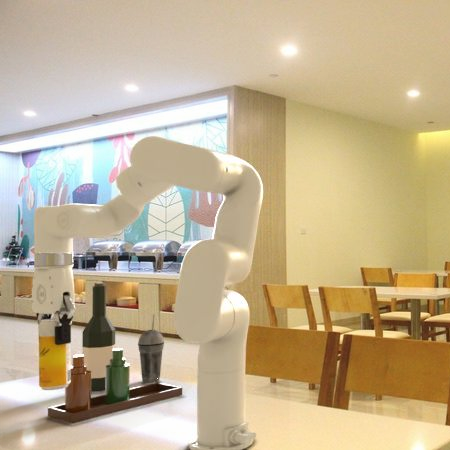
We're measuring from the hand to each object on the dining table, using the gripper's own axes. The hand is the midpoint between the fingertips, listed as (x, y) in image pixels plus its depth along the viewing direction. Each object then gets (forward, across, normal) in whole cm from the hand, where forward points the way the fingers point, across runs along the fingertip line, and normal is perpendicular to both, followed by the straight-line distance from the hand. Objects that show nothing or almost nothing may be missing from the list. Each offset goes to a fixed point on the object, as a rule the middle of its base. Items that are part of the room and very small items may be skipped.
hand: (54, 342), depth 135 cm
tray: (+20, -6, +19) cm, 28 cm away
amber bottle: (+19, -6, +8) cm, 21 cm away
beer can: (+10, 0, 0) cm, 10 cm away
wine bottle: (+19, -27, +26) cm, 42 cm away
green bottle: (+19, -6, +18) cm, 27 cm away
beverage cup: (+20, -22, +39) cm, 49 cm away
